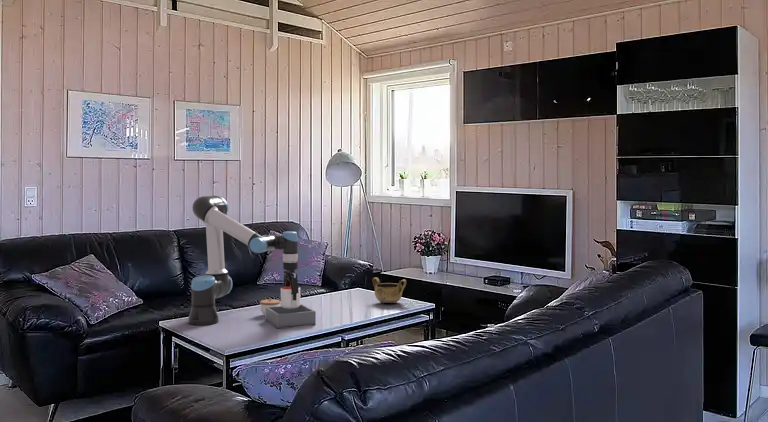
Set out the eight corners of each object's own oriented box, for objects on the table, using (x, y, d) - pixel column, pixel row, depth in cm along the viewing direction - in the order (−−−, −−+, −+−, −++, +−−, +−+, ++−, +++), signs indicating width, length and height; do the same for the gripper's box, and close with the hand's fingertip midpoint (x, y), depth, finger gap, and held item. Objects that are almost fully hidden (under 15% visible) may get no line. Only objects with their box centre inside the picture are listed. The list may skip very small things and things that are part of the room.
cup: (304, 306, 340) (303, 287, 339) (293, 309, 331) (293, 290, 330) (287, 304, 344) (287, 285, 344) (276, 307, 335) (276, 288, 334)
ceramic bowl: (411, 302, 394) (411, 278, 393) (398, 307, 379) (398, 282, 378) (379, 299, 405) (379, 275, 404) (365, 303, 390) (365, 278, 389)
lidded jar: (263, 318, 348) (263, 300, 348) (257, 314, 358) (257, 297, 357) (282, 316, 353) (282, 299, 353) (276, 312, 363) (276, 295, 362)
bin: (277, 328, 324) (277, 314, 324) (265, 320, 342) (265, 307, 342) (315, 324, 334) (315, 311, 333) (302, 317, 351) (302, 304, 351)
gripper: (304, 263, 328) (305, 307, 329) (290, 258, 348) (290, 300, 349) (290, 264, 324) (290, 309, 326) (276, 259, 345) (276, 301, 346)
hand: (290, 304), depth 337 cm, fingers closed on cup, 10 cm apart
